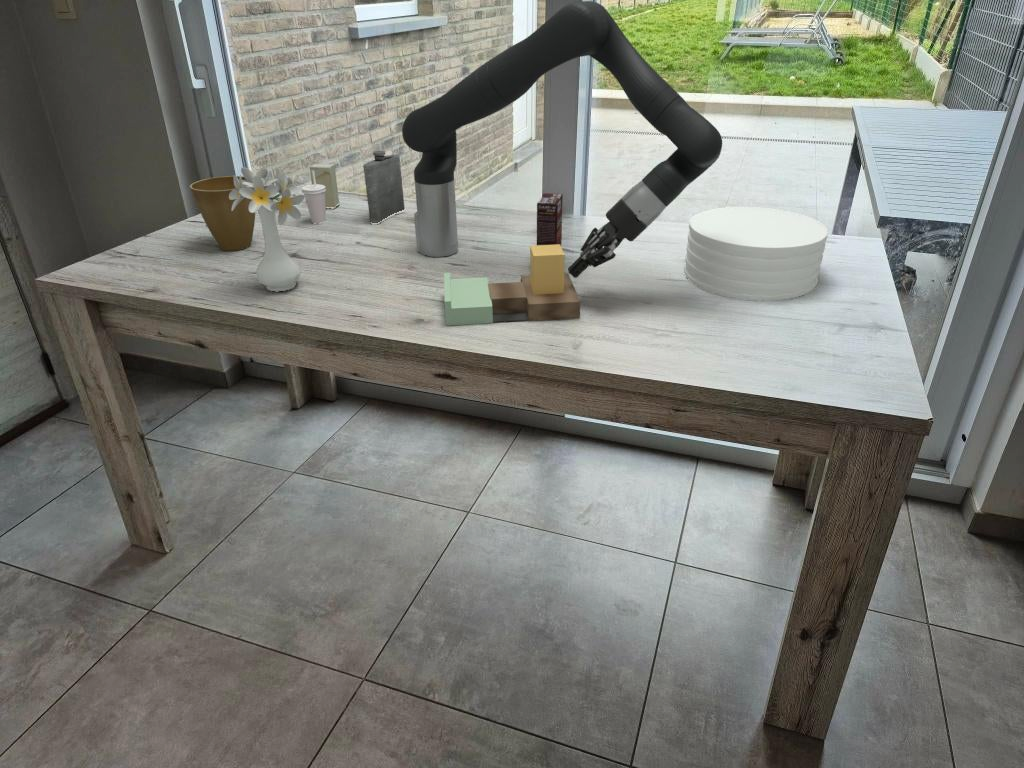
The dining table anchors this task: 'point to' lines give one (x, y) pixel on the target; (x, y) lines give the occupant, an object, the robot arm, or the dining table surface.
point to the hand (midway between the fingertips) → (571, 274)
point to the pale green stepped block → (467, 301)
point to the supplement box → (549, 219)
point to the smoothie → (315, 201)
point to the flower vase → (271, 223)
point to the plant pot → (224, 212)
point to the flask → (383, 186)
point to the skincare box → (326, 182)
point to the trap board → (532, 302)
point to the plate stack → (754, 252)
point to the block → (547, 269)
